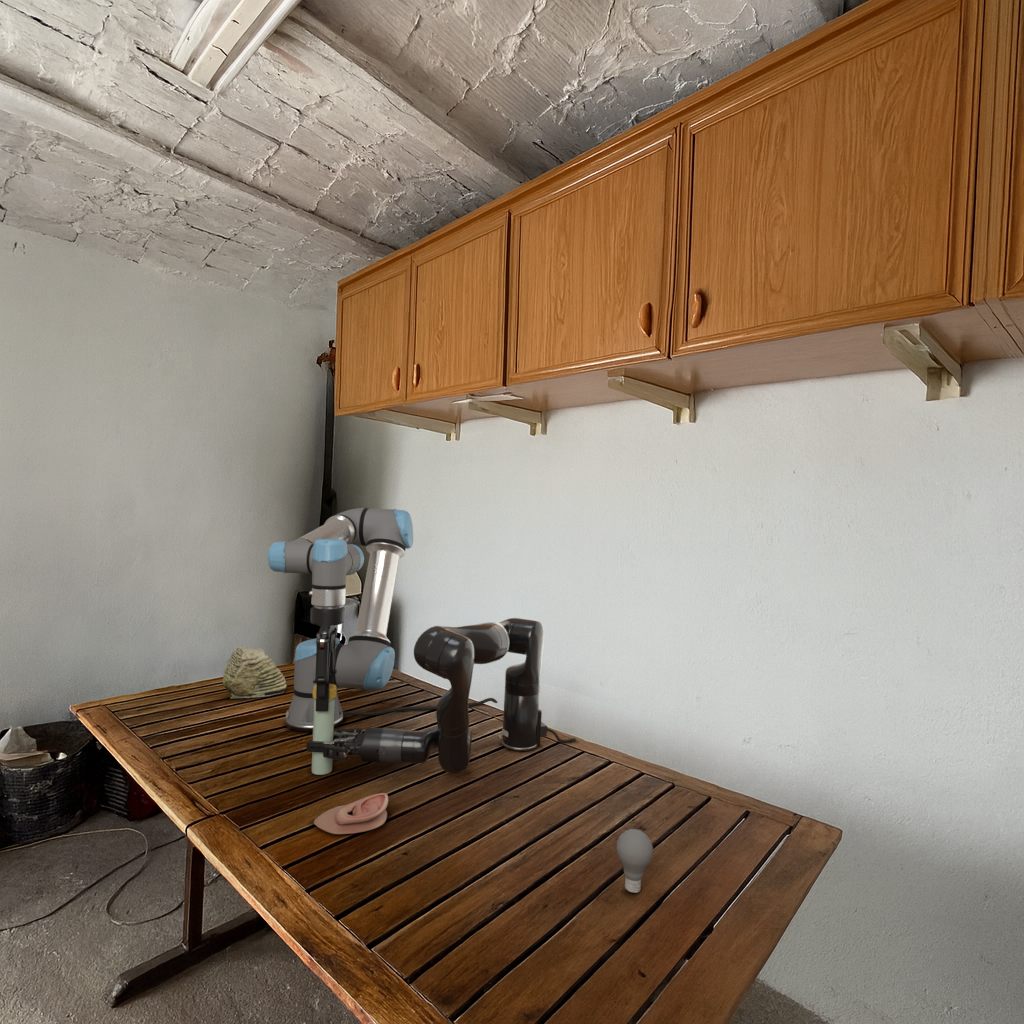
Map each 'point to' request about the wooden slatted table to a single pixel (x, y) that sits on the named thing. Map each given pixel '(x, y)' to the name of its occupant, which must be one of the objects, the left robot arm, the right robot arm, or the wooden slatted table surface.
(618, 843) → the light bulb
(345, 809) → the anatomical model
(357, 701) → the wooden slatted table surface
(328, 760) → the pale green cylindrical bottle
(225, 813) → the wooden slatted table surface
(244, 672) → the fossil
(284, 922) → the wooden slatted table surface
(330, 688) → the lid
